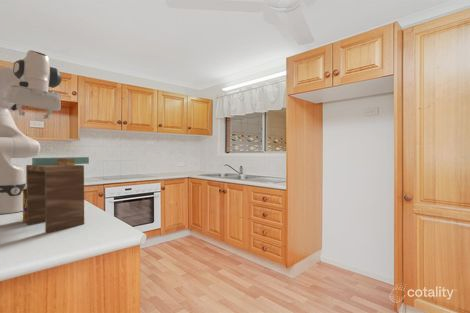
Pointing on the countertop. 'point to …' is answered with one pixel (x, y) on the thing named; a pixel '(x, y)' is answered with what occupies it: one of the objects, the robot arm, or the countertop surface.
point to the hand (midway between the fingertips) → (34, 117)
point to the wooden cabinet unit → (55, 194)
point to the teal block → (54, 160)
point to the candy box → (24, 205)
